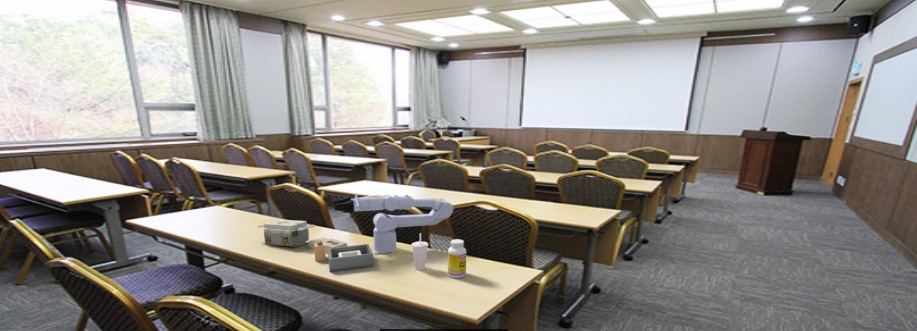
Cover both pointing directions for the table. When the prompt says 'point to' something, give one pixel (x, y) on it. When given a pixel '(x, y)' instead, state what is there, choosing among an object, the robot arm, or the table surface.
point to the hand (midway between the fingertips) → (334, 205)
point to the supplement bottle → (457, 259)
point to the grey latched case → (286, 232)
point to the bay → (350, 257)
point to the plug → (320, 251)
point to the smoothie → (419, 254)
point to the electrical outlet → (327, 243)
